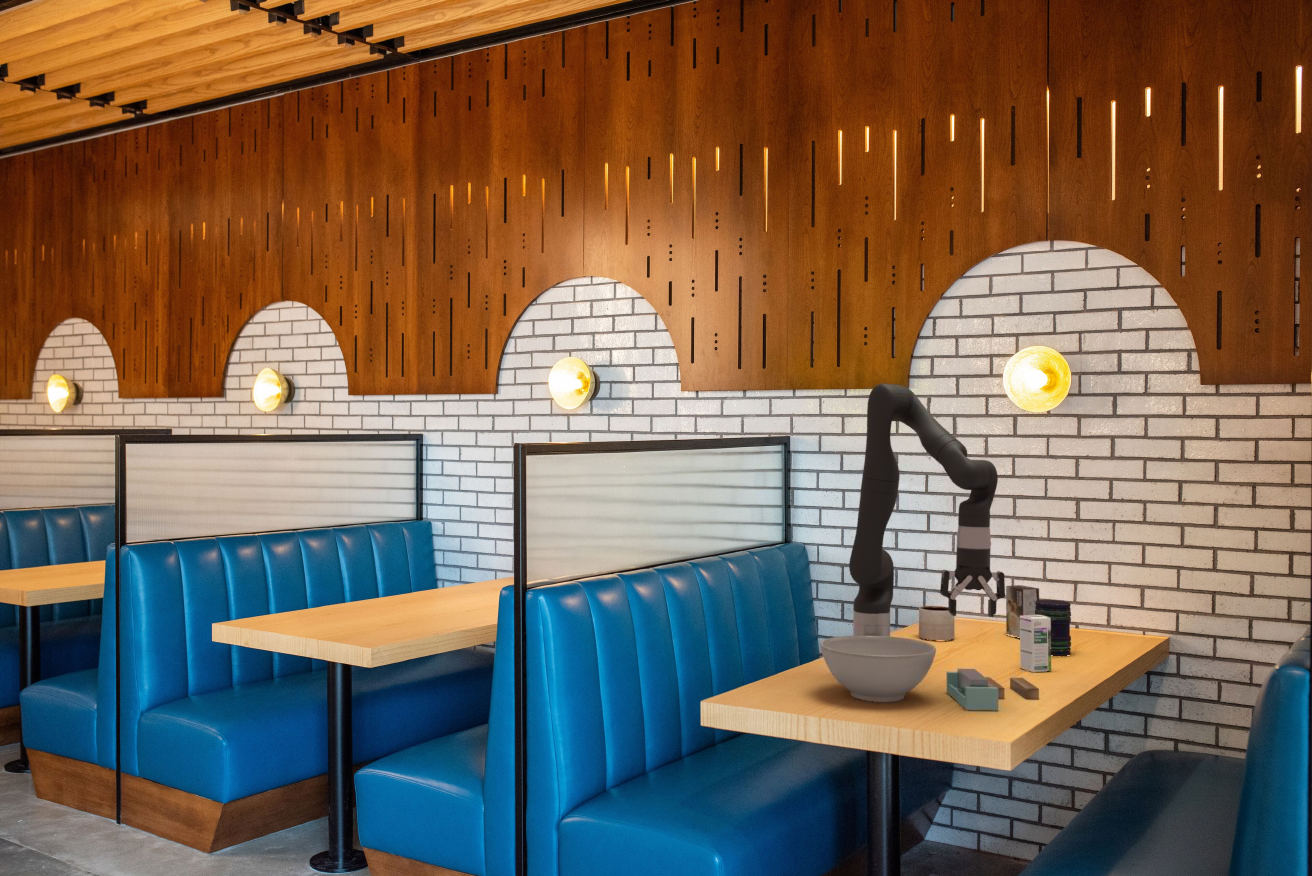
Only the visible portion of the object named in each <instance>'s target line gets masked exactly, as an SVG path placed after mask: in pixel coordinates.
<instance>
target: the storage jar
mask: <svg viewBox="0 0 1312 876" xmlns="http://www.w3.org/2000/svg"><path fill="white" fill-rule="evenodd" d="M1035 604H1036V606H1035V609H1036V610H1035V614H1036V615H1044V616H1047V617H1050V618H1051V655H1053V656H1067V655H1070V654H1071V647H1072V636H1071V635H1070V634H1071V632H1070V631H1071V623H1072V612H1071V611H1072V608H1071V605H1072V604H1071V601H1065V600H1056V599H1039V600H1037V601H1035ZM1071 655H1072V654H1071Z"/></svg>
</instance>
